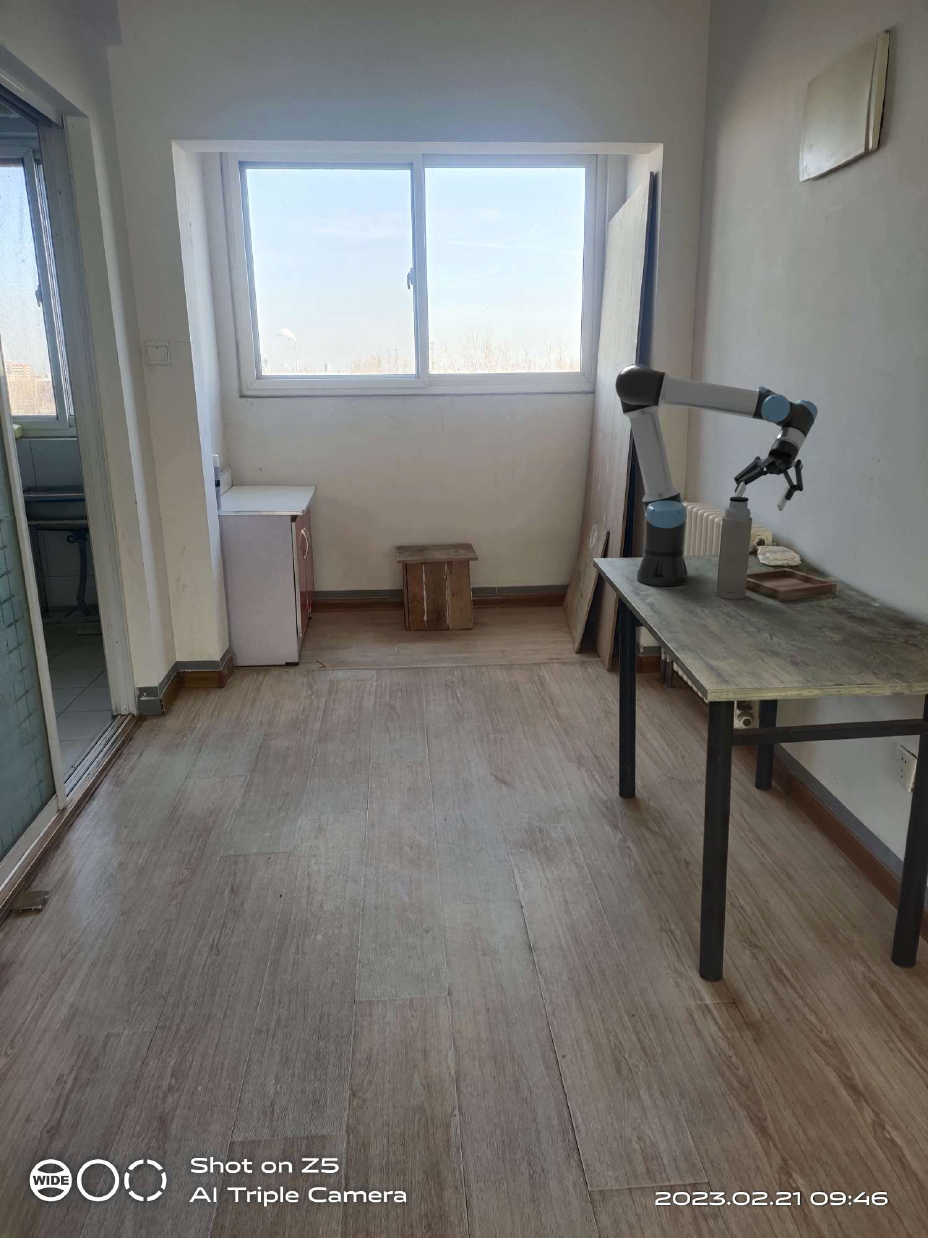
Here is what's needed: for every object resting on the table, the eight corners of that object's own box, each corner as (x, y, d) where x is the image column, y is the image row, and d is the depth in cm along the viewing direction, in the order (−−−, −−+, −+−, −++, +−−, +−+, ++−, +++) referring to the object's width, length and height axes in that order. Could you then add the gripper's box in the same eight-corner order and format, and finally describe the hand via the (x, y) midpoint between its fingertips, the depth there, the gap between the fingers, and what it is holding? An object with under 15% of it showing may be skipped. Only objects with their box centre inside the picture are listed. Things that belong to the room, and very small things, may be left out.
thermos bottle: (712, 596, 238) (719, 498, 229) (721, 589, 244) (729, 494, 235) (739, 600, 233) (748, 500, 225) (749, 594, 239) (758, 496, 231)
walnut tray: (732, 584, 249) (733, 574, 248) (785, 577, 256) (786, 568, 255) (780, 601, 231) (781, 591, 231) (835, 593, 239) (836, 583, 238)
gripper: (831, 458, 237) (802, 518, 232) (749, 452, 254) (720, 508, 249) (826, 441, 232) (795, 501, 226) (742, 436, 249) (712, 492, 244)
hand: (756, 505), depth 238 cm, fingers open, 13 cm apart
